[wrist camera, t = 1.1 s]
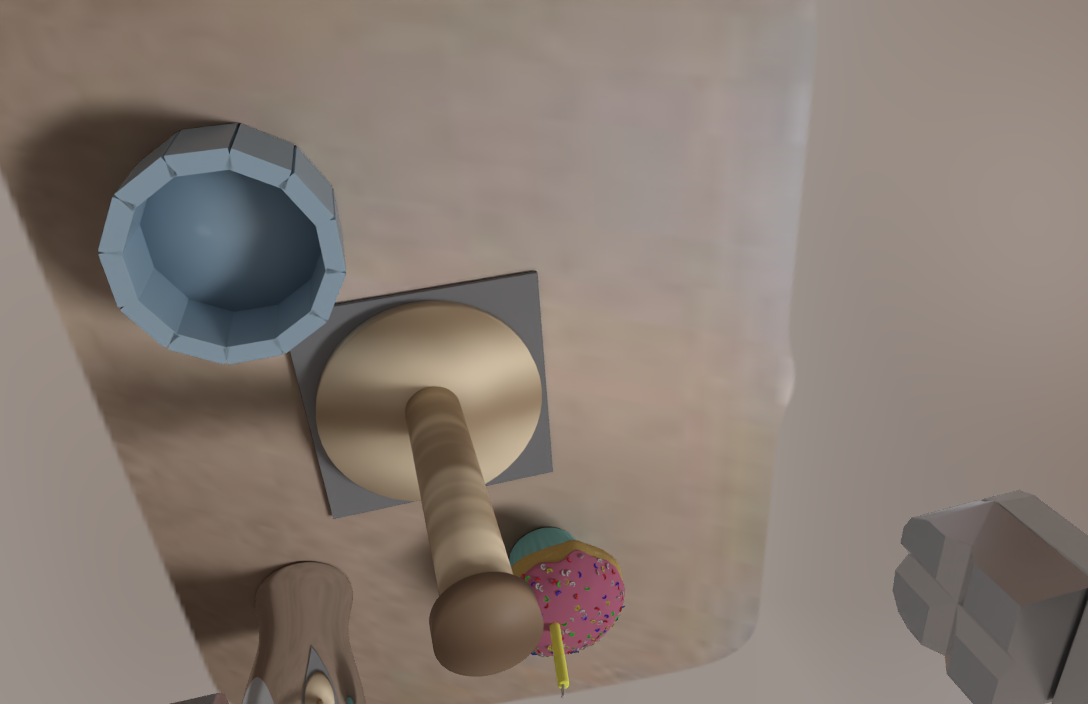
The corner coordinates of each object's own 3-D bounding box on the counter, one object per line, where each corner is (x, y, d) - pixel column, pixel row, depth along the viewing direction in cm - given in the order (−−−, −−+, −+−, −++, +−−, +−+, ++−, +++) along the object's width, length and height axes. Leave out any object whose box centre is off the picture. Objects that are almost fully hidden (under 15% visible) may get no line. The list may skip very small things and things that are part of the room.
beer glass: (250, 642, 51) (229, 877, 39) (244, 560, 48) (220, 787, 35) (359, 630, 53) (374, 851, 40) (360, 550, 50) (376, 762, 37)
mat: (280, 313, 42) (280, 315, 41) (536, 270, 44) (537, 272, 44) (333, 515, 48) (333, 519, 48) (551, 468, 51) (552, 471, 51)
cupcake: (471, 598, 55) (508, 752, 44) (497, 500, 51) (543, 642, 41) (585, 598, 57) (644, 742, 47) (616, 505, 54) (688, 638, 44)
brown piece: (292, 322, 42) (280, 549, 26) (529, 282, 44) (644, 469, 29) (340, 511, 48) (352, 783, 33) (544, 467, 50) (646, 701, 35)
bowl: (95, 139, 36) (66, 168, 31) (317, 113, 37) (318, 136, 33) (162, 332, 40) (144, 379, 36) (356, 299, 42) (360, 341, 38)
